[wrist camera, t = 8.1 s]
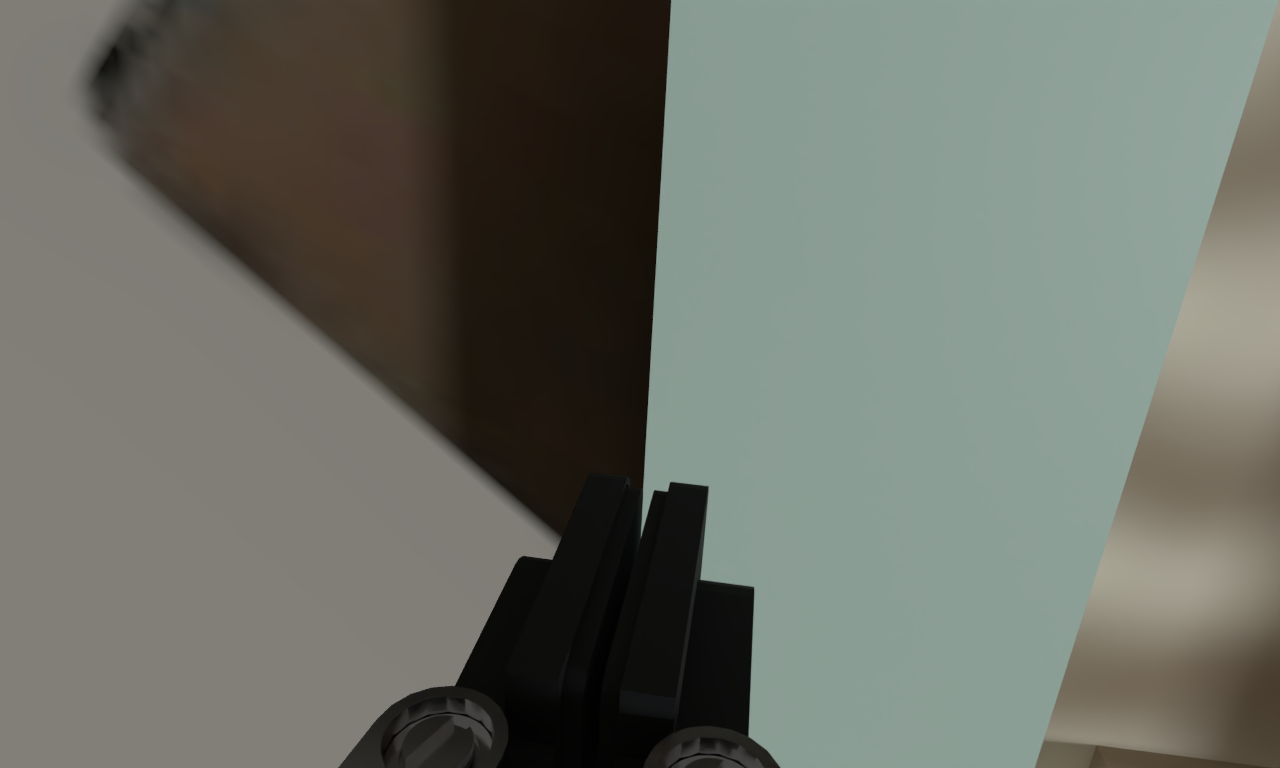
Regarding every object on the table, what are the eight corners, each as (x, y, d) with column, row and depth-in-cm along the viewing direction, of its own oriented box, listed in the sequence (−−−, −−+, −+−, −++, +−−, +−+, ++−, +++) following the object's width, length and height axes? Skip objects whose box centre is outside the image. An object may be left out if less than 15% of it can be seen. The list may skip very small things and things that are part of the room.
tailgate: (1242, -67, 14) (680, -91, 15) (1303, -80, 13) (677, -107, 13) (1004, 745, 22) (632, 711, 22) (1025, 796, 20) (627, 758, 21)
